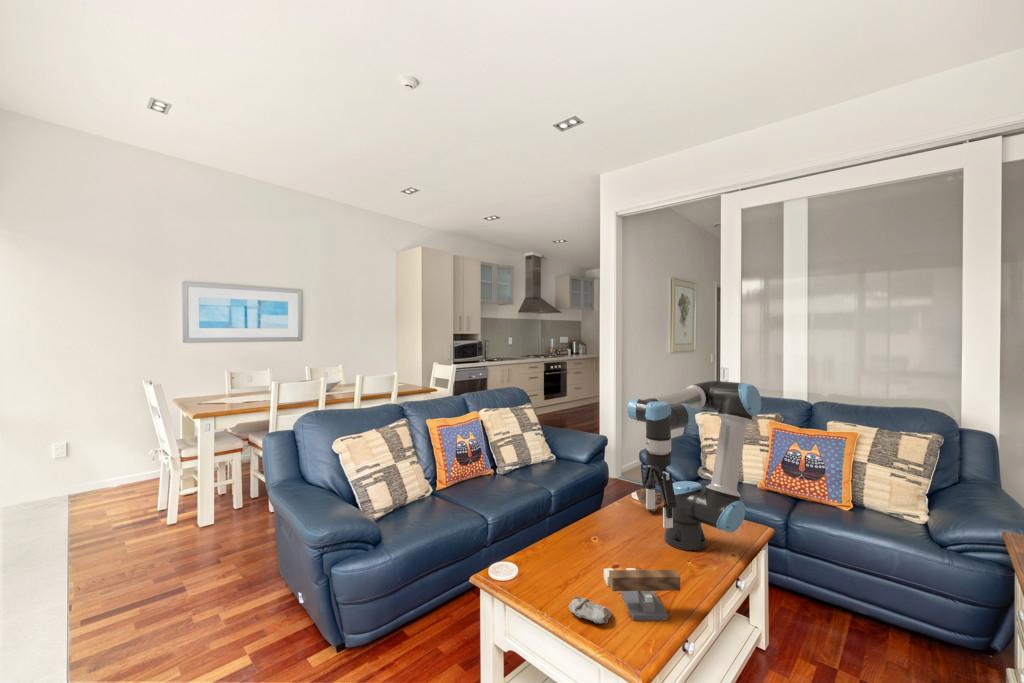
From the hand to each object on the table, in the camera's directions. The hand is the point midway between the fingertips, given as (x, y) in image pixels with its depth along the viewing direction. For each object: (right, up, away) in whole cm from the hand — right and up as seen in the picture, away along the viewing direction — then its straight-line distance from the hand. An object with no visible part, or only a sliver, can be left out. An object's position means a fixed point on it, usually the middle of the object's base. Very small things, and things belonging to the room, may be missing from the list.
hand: (659, 517), depth 139 cm
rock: (+17, -22, +63) cm, 69 cm away
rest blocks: (-11, -23, +4) cm, 25 cm away
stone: (-25, -23, -13) cm, 36 cm away
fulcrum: (-8, -23, -9) cm, 26 cm away
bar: (-7, -17, -9) cm, 21 cm away
